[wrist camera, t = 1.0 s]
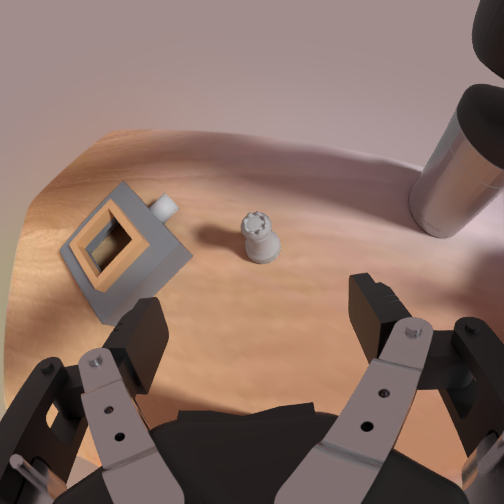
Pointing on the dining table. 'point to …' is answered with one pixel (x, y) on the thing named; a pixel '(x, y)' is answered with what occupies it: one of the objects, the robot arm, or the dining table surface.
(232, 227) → the dining table surface
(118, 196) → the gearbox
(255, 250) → the rook chess piece
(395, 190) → the dining table surface
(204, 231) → the dining table surface
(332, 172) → the dining table surface
